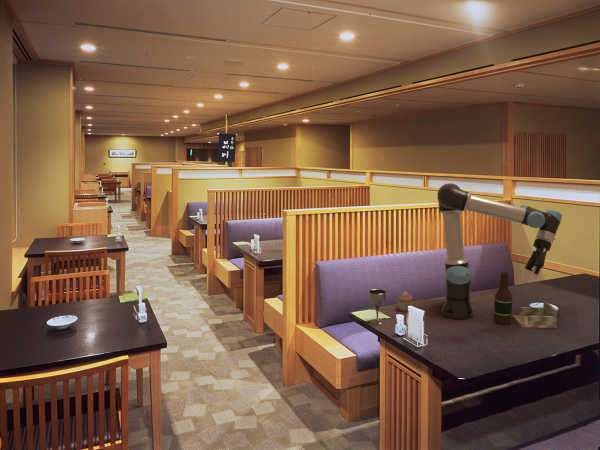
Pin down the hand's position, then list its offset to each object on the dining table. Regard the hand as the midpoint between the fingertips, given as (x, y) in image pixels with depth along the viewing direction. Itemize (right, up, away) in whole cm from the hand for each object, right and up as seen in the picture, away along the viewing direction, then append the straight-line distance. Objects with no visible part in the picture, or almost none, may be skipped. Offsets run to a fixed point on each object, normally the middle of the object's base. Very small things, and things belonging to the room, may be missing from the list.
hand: (528, 281), depth 227 cm
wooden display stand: (+2, -19, -4) cm, 19 cm away
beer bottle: (-13, -19, -2) cm, 23 cm away
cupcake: (-55, -17, +19) cm, 60 cm away
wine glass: (-72, -20, +3) cm, 75 cm away
